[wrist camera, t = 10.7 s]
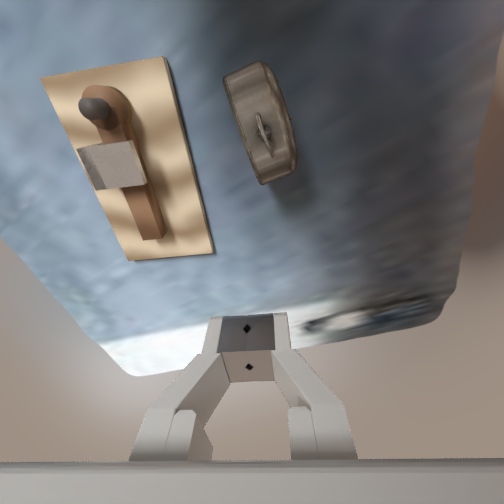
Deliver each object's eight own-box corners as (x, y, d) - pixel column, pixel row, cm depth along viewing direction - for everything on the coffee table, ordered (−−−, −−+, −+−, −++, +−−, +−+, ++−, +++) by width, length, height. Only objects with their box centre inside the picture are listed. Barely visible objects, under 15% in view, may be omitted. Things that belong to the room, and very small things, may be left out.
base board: (47, 78, 29) (39, 77, 28) (166, 57, 28) (162, 56, 27) (131, 257, 43) (128, 260, 42) (213, 249, 41) (212, 253, 40)
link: (87, 88, 28) (57, 86, 24) (123, 83, 28) (98, 80, 24) (145, 233, 38) (130, 249, 34) (171, 230, 38) (160, 246, 34)
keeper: (97, 143, 32) (75, 148, 28) (144, 136, 31) (128, 141, 27) (113, 180, 34) (95, 190, 31) (157, 175, 34) (144, 184, 30)
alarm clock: (227, 83, 29) (197, 67, 15) (270, 63, 28) (280, 25, 14) (258, 171, 34) (257, 218, 20) (295, 157, 33) (320, 197, 19)
